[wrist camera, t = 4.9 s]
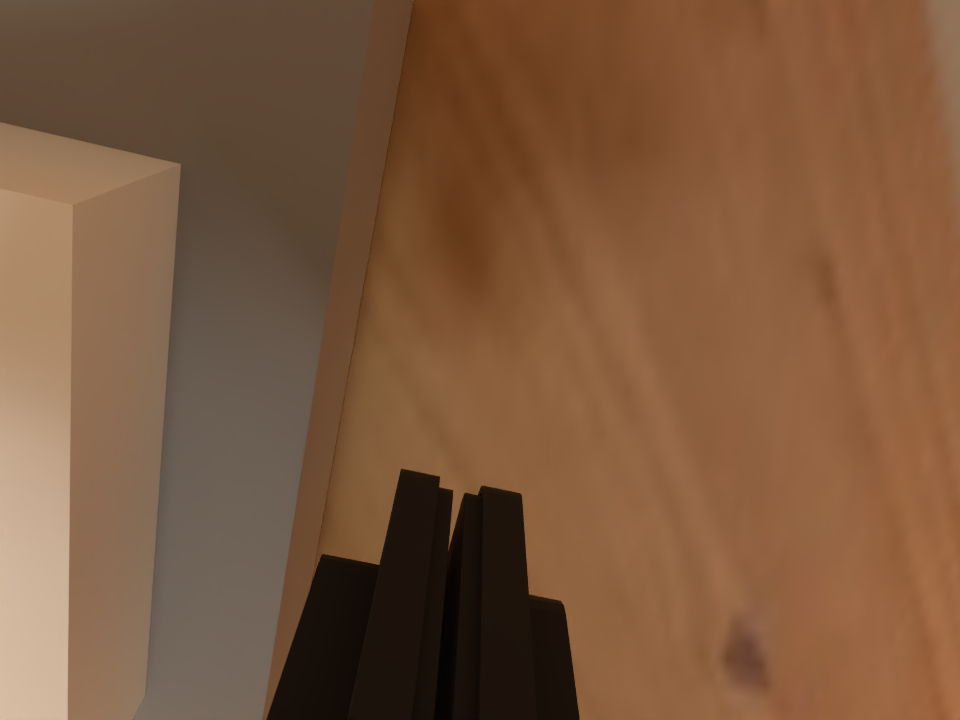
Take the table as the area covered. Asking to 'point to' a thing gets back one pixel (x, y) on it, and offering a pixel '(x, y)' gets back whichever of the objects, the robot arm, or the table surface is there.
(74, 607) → the tile
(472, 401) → the table surface
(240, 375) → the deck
